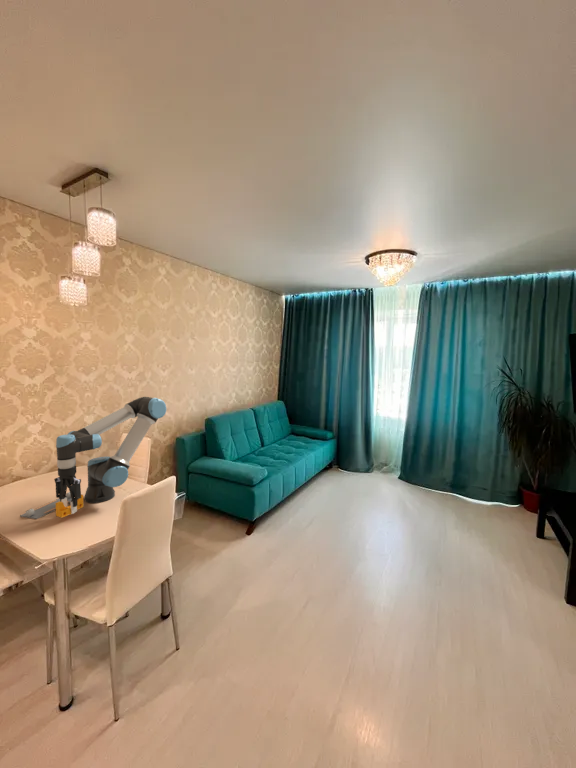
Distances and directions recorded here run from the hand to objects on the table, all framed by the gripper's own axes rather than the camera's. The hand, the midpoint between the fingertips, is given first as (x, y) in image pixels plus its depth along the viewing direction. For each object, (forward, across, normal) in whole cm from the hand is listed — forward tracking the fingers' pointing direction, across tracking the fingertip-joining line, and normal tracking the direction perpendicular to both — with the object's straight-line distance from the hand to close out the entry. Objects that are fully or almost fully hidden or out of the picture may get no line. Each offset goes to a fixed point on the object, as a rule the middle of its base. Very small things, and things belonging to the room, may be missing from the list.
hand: (69, 511), depth 160 cm
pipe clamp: (+1, 0, -1) cm, 1 cm away
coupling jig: (+3, +19, -7) cm, 20 cm away
